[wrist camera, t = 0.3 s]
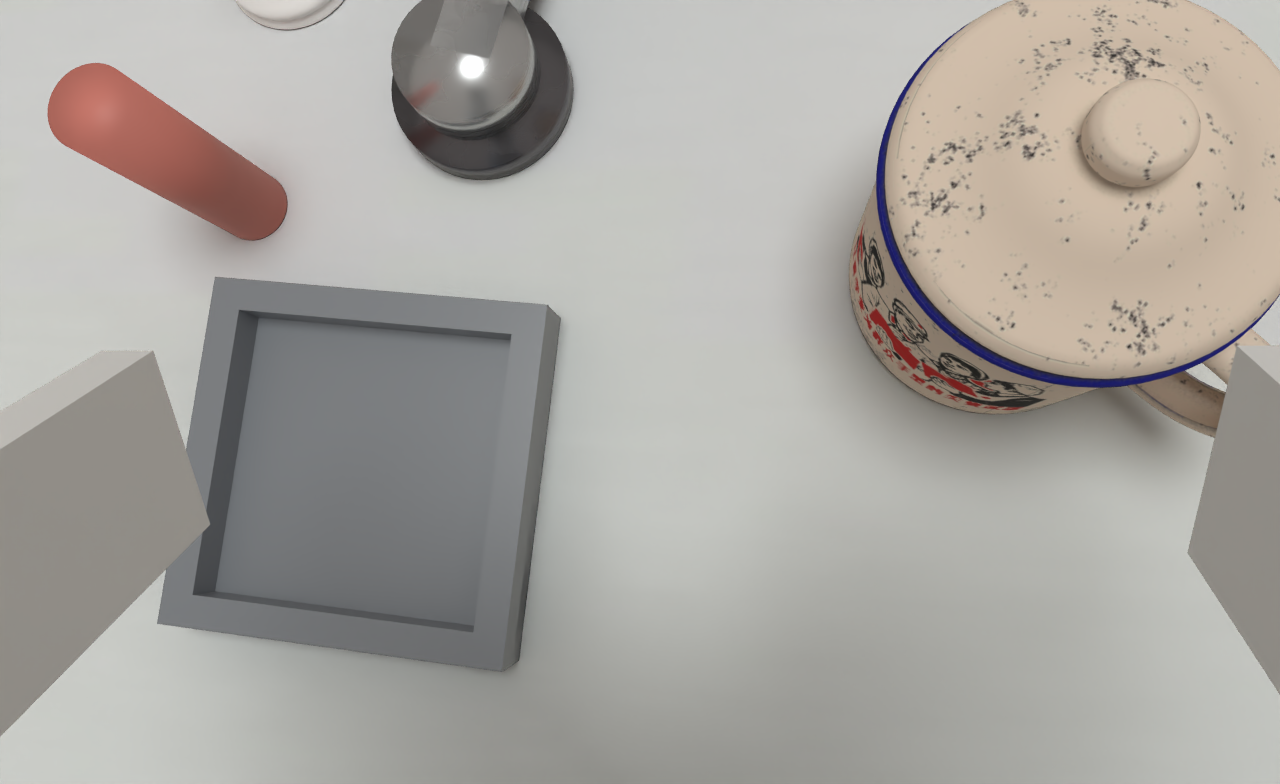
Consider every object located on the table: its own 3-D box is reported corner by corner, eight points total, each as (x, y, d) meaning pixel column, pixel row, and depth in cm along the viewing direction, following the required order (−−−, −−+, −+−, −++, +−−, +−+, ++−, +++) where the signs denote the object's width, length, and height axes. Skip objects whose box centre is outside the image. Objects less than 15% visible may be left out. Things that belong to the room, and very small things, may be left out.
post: (281, 242, 31) (123, 153, 23) (216, 237, 32) (40, 147, 24) (292, 175, 32) (139, 65, 24) (227, 171, 32) (56, 60, 24)
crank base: (561, 185, 30) (555, 174, 29) (391, 174, 31) (380, 163, 30) (583, 16, 31) (577, 0, 30) (415, 9, 32) (404, -7, 31)
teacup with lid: (779, 281, 29) (799, 134, 18) (981, 82, 29) (1132, -195, 18) (1069, 555, 27) (1306, 590, 16) (1286, 341, 27) (1682, 217, 16)
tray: (518, 660, 28) (501, 671, 27) (195, 615, 30) (157, 623, 28) (560, 318, 30) (547, 304, 28) (248, 291, 31) (215, 276, 29)
